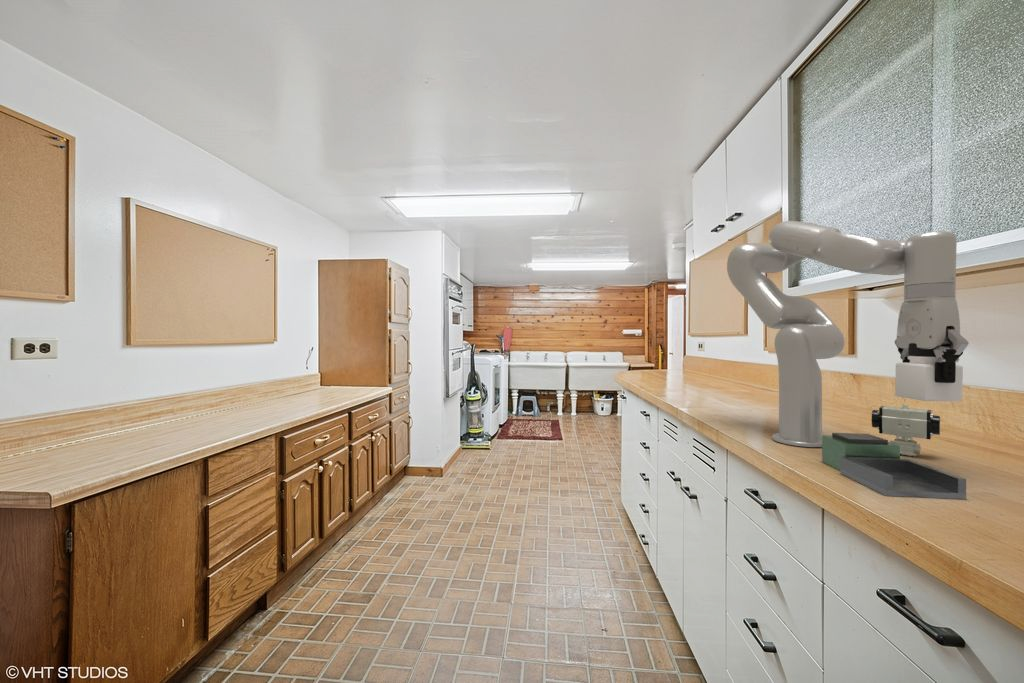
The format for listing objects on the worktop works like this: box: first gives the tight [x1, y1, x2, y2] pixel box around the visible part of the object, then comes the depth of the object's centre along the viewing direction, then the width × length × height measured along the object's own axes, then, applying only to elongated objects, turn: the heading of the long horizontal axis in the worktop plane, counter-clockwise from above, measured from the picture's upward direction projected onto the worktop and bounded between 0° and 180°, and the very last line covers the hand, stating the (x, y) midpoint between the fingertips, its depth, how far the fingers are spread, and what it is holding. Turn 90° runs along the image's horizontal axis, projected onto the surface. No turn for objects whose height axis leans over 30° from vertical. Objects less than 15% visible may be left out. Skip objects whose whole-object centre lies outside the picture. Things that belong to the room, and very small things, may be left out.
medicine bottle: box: [894, 343, 964, 403], centre depth 86 cm, size 7×7×12 cm
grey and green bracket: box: [821, 432, 967, 500], centre depth 83 cm, size 21×12×7 cm, turn 172°
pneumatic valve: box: [871, 403, 941, 457], centre depth 100 cm, size 6×12×12 cm, turn 43°
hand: (927, 379), depth 86 cm, fingers closed on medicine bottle, 7 cm apart
